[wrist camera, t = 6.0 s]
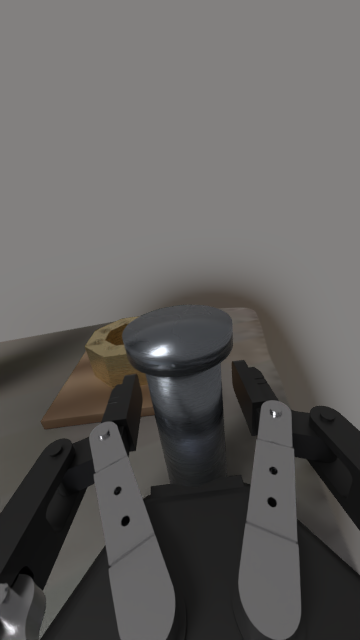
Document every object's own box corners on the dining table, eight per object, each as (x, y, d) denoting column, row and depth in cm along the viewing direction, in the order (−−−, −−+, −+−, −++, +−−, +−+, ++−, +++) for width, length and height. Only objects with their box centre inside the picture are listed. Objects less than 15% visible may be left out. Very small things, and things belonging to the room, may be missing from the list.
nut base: (213, 407, 21) (210, 362, 19) (44, 429, 21) (22, 387, 19) (195, 331, 35) (191, 301, 33) (95, 344, 36) (86, 315, 34)
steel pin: (203, 560, 12) (170, 371, 7) (149, 490, 15) (103, 331, 10) (252, 486, 14) (254, 316, 10) (198, 441, 18) (179, 299, 13)
